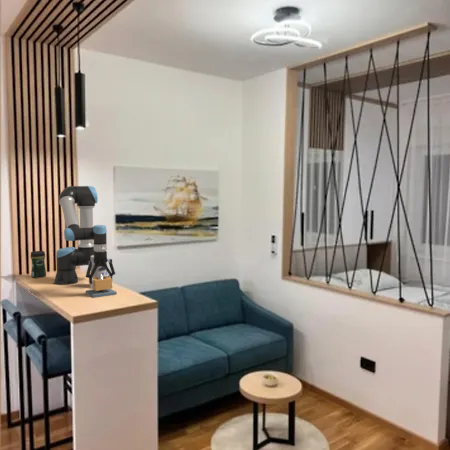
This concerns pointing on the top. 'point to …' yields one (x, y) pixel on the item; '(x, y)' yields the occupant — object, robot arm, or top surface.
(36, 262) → the coffee jar
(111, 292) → the keeper
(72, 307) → the top surface
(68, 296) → the top surface
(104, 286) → the cardboard box
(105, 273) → the container
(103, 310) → the top surface
